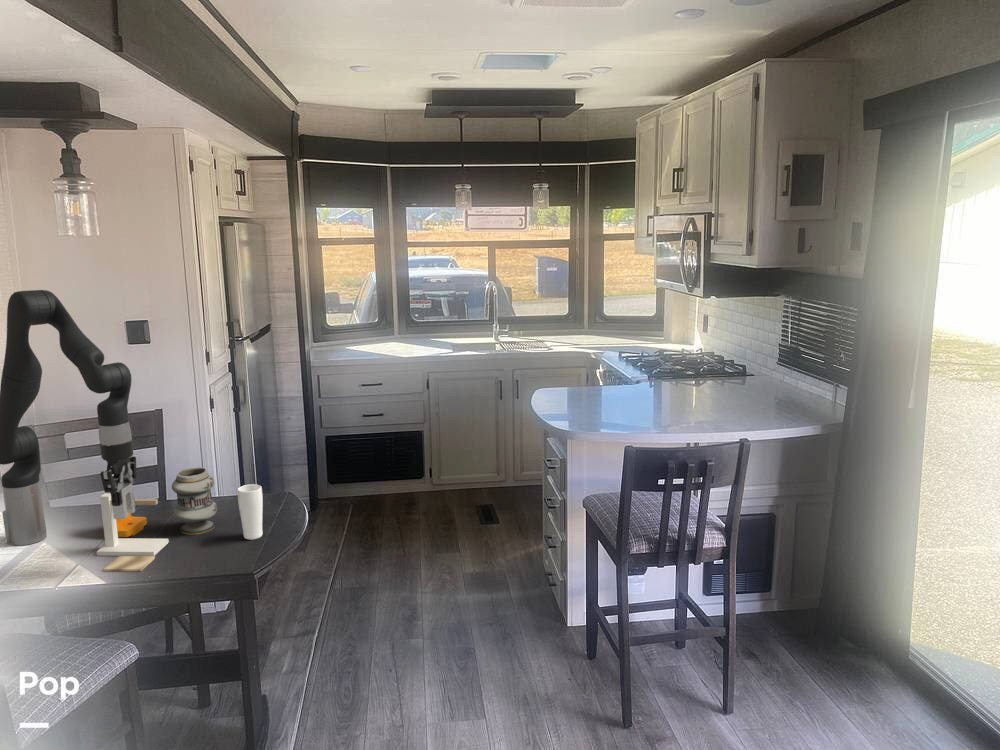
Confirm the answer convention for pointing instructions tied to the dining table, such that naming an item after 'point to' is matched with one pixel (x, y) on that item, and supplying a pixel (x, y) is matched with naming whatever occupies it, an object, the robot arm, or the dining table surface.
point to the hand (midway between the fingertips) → (122, 500)
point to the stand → (126, 545)
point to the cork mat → (129, 563)
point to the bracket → (130, 525)
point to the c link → (125, 502)
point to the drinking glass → (251, 510)
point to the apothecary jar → (194, 500)
